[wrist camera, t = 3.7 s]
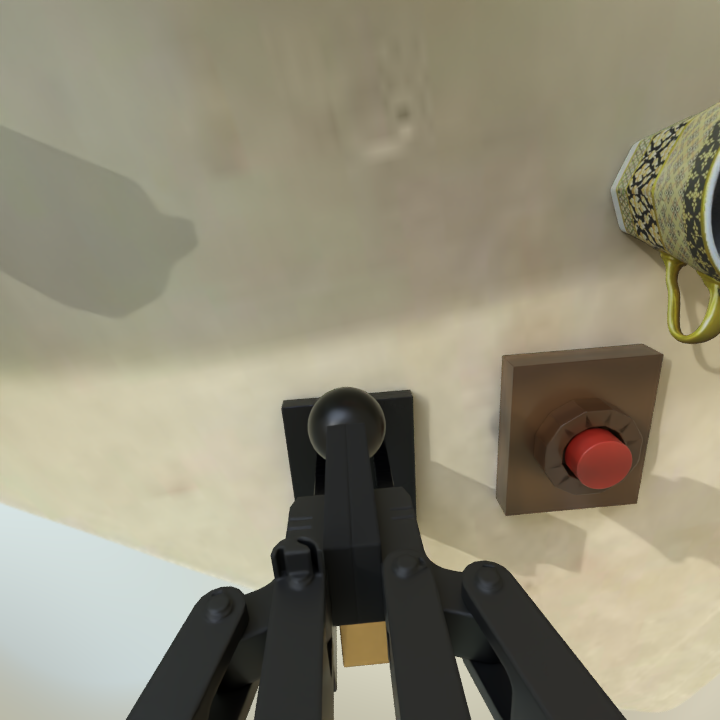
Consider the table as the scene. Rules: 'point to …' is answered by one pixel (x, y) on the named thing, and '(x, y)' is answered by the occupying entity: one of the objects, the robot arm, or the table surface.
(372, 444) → the switch lever
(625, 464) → the button
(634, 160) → the ceramic cup
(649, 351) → the button block
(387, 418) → the switch bracket
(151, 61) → the table surface
